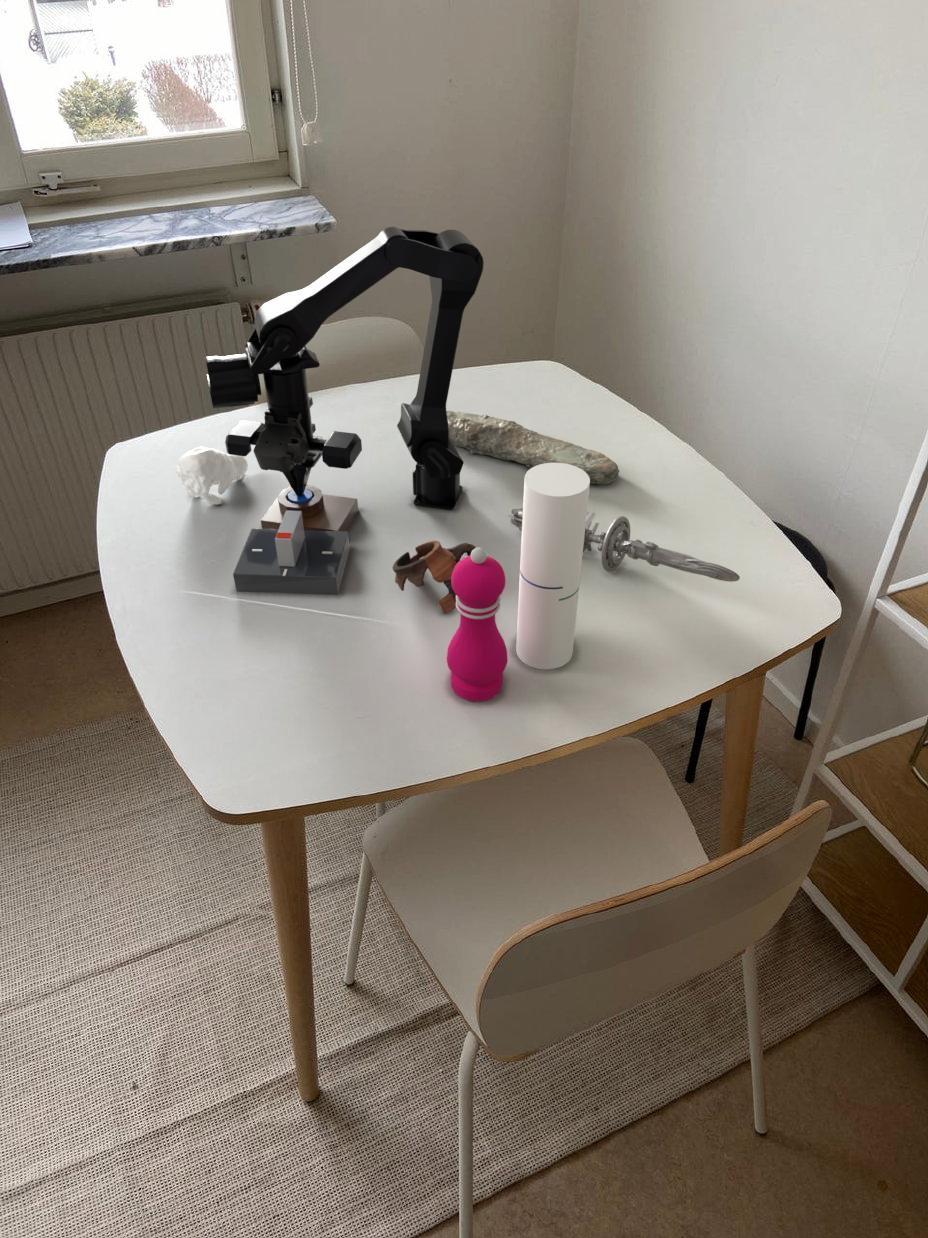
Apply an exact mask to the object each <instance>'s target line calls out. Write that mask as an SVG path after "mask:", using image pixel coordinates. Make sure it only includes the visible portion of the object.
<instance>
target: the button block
mask: <svg viewBox="0 0 928 1238" xmlns="http://www.w3.org/2000/svg"><path fill="white" fill-rule="evenodd" d="M305 489H307V490H310V491H311V492H312V496H313V499H312V500H311V501H309V502H307V503H301V504H296V503H291V502H289V501H288V494H289V493H290V492H291V491H293V489H292V487H291V485H289V487H286V488H283V489H282V490H281V491H280V492H279V493H278V495H277V497H276V499H275V500H274V501H273V503H272V504H271V505H270V506H269V508H268V509H267V511H266V512H265V514H264V515H263V516H262V518H261V519H260V526H261V529H279V527H280V525H281V522H282V520H283V517H284V514H285V512H286V510H287V511H302V519H303V526H304V530H313V531H344V532H348V529H349V527H350V526H351V524H352V523H353V521H354V519H355V517H356V515H358V512H359V503H358V502H359V501H358V498H356V497H347V496H341V495H340V496H339V495H332V494H325V493H322V490H321V489H320V488H318V487H316V486H314V485H313V484H312V485H311V484H307V485H306V488H305Z"/></svg>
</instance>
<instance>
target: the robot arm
mask: <svg viewBox="0 0 928 1238" xmlns="http://www.w3.org/2000/svg"><path fill="white" fill-rule="evenodd" d="M484 262H485V261H484V257H483V255H482V253H481V251H480V250H479V248H478V247H477V246H475V244H474V243H473V242H472V241H471V240H470V239H469V238H468V237H467V236H466V235H465V234H464V233H463V232H462V231H460V230H457V229H446V230H444V231H440V232H435V231H430V230H424V229H404V228H399V227H396V226H388V227H386V228H384V229H382V230H381V231H380V232H379V234H378V235H377V236H375V238H373V239H372V240H371V241H369V242H368V243H366V244H365V245H364V246H362V247H361V248H359V249H357V251H355V252H354V253H352V254H351V255H350V256H348V257H347V258H345V259H344V260H343V261H340V263H338V264H337V265H336V266H334V267H333V268H332V269H330V270H329V271H327V272H326V273H324V274H323V275H322V276H320V277H319V278H318V279H316V280H315V281H313V282H312V283H310V284H309V285H307V286H305V287H304V288H302V289H298V290H294V291H290V292H286V293H284V294H281V295H279V296H277V297H275V298H273V299H271V300H269V301H267V302H264V303H263V304H262V305H261V306H260V307H259V308H258V309H257V311H256V312H255V317H254V328H253V330H252V332H251V334H250V335H249V337H248V339H247V340H246V342H245V344H244V345H243V349H244V353H242V354H241V353H240V354H231V355H225V356H224V355H223V356H219V355H211V356H205V365H206V370H207V374H206V379H207V382H208V383H207V384H208V389H209V395H210V400H211V405H212V409H213V410H217V409H218V410H219V409H226V408H233V407H241V406H242V407H243V406H251V405H255V403H257V402H259V397H260V396H262V388H261V387H262V386H261V381H260V375H263V384H264V389H265V390H264V391H265V396H266V402H267V403H266V404H267V408H266V410H265V411H264V417H263V418H264V422H261V421H260V422H259V421H251V420H242V419H241V420H240V421H239V422H238V423H237V424H236V425H235V426H234V427H233V428H232V430H230V432H229V433H228V434H227V435H226V436H225V441H224V444H225V449H226V454H228V455H229V454H230V455H238V456H244V457H247V456H248V455H249V454H250V453H251V452H252V446H254V448H253V454H254V456H255V458H256V461H257V464H258V466H259V468H260V469H261V470H262V471H268V470H269V471H275V472H276V471H277V472H280V473H282V474H283V475H284V477H285V478H286V480H287V482H288V484H289V486H291V487H292V489H293V491H294V492H295V494H296V496H302V495H303V494H304V491H305V488H306V485H308V481H309V477H310V474H311V472H312V468H314V467H315V466H316V464H317V463H318V462H319V460H320V459H322V462H323V464H325V465H326V466H327V467H329V468H337V469H346V470H347V469H351V468H352V467H353V465H354V463H355V462H356V460H357V458H358V457H359V456H360V454H361V452H362V451H363V445H362V439H361V437H360V436H359V435H358V434H357V433H355V432H345V431H337V430H333V432H332V433H331V435H330V436H329V437H328V439H324V438H323V436H319V435H314V434H315V432H316V430H317V427H316V423H312V414H311V407H312V406H313V405H314V401H313V397H312V396H309V390H308V381H307V380H308V379H307V373H306V372H307V371H306V370H308V369H317V368H319V367H320V366H321V364H320V361H319V358H318V356H317V354H316V353H315V352H313V351H312V350H311V349H309V348H308V347H307V345H308V344H309V343H310V341H312V340H313V339H314V338H315V336H316V334H317V333H318V331H319V329H320V328H321V327H322V325H323V324H324V323H325V321H326V320H328V319H329V318H330V317H331V316H332V315H334V314H335V313H337V312H338V311H339V310H341V309H343V308H344V307H345V306H346V305H348V304H349V303H351V302H353V300H355V299H356V298H358V297H359V296H360V295H362V294H363V293H365V292H366V291H368V290H369V289H370V288H372V287H373V286H374V285H377V283H379V282H380V281H381V280H383V279H385V278H386V277H387V276H389V275H390V274H392V273H393V272H395V271H396V270H397V269H399V268H400V269H407V270H410V271H412V272H413V271H414V272H417V273H420V274H422V275H426V276H428V277H429V284H430V293H431V305H430V311H429V317H428V323H427V328H426V335H425V342H424V348H423V354H422V360H421V366H420V371H419V378H418V383H417V389H416V390H417V391H416V394H415V397H414V398H413V399H412V401H411V402H410V404H409V403H404V402H401V403H400V418H399V421H398V423H397V424H396V427H397V429H398V431H399V433H400V436H401V438H402V440H403V443H404V444H405V447H406V448H407V451H408V452H409V454H410V457H411V458H412V459H413V460H414V462H416V463H415V467H414V469H413V471H412V494H413V496H415V497H414V499H413V506H417V507H426V508H434V509H442V510H449V511H451V510H452V511H453V510H455V508H456V507H457V503H458V501H459V499H460V497H461V494H462V492H463V490H464V489H463V486H462V485H461V472H462V469H463V466H464V463H465V462H464V460H463V458H462V457H461V455H460V453H459V451H458V450H457V448H456V447H455V446H456V445H453V443H452V441H451V440H450V438H449V427H448V419H447V411H448V410H447V402H448V397H449V392H450V387H451V380H452V375H453V369H454V364H455V359H456V353H457V347H458V342H459V338H460V332H461V326H462V322H463V315H464V311H465V309H466V307H467V306H468V305H469V303H470V301H471V300H472V299H473V297H474V295H476V294H475V293H476V291H477V290H478V289H477V288H478V286H479V283H480V280H481V277H482V275H483V272H484V266H485V263H484ZM321 457H322V458H321Z"/></svg>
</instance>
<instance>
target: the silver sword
mask: <svg viewBox="0 0 928 1238" xmlns="http://www.w3.org/2000/svg"><path fill="white" fill-rule="evenodd" d="M511 514H512V515H509V517H510V518H511V519H510V523H511V524H512V525H513V526H515V527H516V528H517V529H518V530H519V531H520V532H522V519H523V506H522V507H521V508H520V507H519V508H513V509H511ZM589 514H590V511H588V510H587V515H586V517H587V516H588V515H589ZM596 515H597V513H596V512H592V513H591V514H590V516H589V517H588V518H586V525H585V535H584V545H583V553H584V552H585V551H586V550H587V551H588V552H592V550H593V549H592V543H595V544H597V550H598V551H600V552H601V565H602V568H603V569H604V570H605V571H606V572H608V573H611V572H614V571H616V570H617V569H618V568H619V567H620V565H621V564H622V562H623V560H624V558H625V557H626V555H627V557H628V558H630V559H633V560H635V561H636V560H638V559H640V560H644V561H646V562H647V563H648V564H649V565H650V566H653V567H658V566H659V565H661V566H666V567H669V568H671V569H675V570H679V571H683V572H685V573H690V574H694V575H700V576H703V577H704V576H705V577H708V578H710V579H713V580H716V581H717V580H718V581H722V582H738V581H740V579H741V577H740V575H739V574H738V573H737V572H735V570H734V571H733V570H732V569H731V568H728V567H726V566H723V565H720V564H717V563H712V562H709V561H708V562H707V561H705V560H701V559H699V558H697V557H694V556H692V555H689V554H685V553H681V552H678V551H675V550H671V549H667V548H663V547H659V545H658V544H657V543H654V542H652V541H645V543H644V542H643V541H642V540H640V539H635V540H631V523H630V521H629V518H627V517H626V516H623V515H621V516H618V517H617V518H615V519H614V520H613V521H612V523H611V524H610V526H609V528H608V529H607V531H606V532H604V531H601V532H600V533H599V534H596V532H597V529H598V527H599V525H600V522H595V523H594V525H592V522H593V520H594V518H595V517H596ZM591 526H592V528H591V529H590V527H591Z"/></svg>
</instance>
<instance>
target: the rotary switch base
mask: <svg viewBox="0 0 928 1238" xmlns="http://www.w3.org/2000/svg"><path fill="white" fill-rule="evenodd" d="M278 530H279V529H262V528H251V530H250V532H249V533H248V537H247V540H246V542H245V544H244V547H243V548H242V551H241V554H240V556H239V558H238V561H237V563H236V565H235V568H234V571H233V573H232V576H233V581H234V587H235V591H236V592H241V593H242V592H243V593H246V592H249V593H271V594H273V593H275V594H299V595H300V594H301V595H307V594H308V595H333V596H338V595H339V592H340V589H341V584H342V580H343V576H344V572H345V570H346V565H347V561H348V557H349V553H350V549H351V547H350V546H351V545H350V536H349V534H350V533H349V531H346V532H344V531H313V530H304V534H305V539H304V542H303V545H302V548H301V550H300V553H299V556H298V559H297V562H296V565H295V567H289V566H279V562H278V556H277V549H276V543H275V538H276V535H277V532H278Z"/></svg>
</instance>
